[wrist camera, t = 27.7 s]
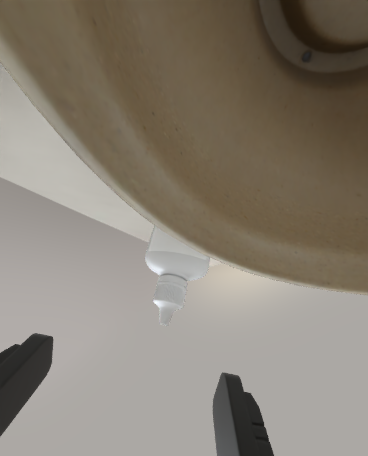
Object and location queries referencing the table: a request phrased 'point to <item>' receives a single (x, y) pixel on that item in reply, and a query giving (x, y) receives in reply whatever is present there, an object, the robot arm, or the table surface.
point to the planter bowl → (215, 120)
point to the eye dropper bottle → (173, 271)
